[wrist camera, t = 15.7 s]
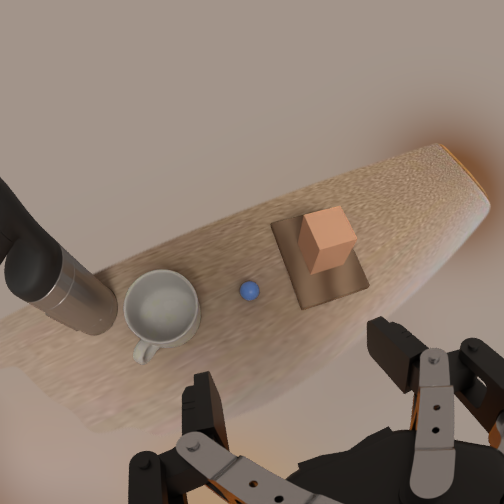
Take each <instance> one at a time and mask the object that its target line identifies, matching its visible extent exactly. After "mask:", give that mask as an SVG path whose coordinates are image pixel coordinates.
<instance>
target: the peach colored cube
mask: <svg viewBox="0 0 504 504" xmlns="http://www.w3.org/2000/svg"><path fill="white" fill-rule="evenodd" d="M356 241H357V237H356V235H355V233H354V231H353V229H352V227H351V225H350V223H349V221H348V219H347V218H346V216H345V214H344V212H343V210H342V208H341V206H337V207H333V208H329V209H325V210H321V211H317V212H313V213H309V214H305V215H304V216H303V221H302V226H301V230H300V235H299V240H298V246H299V248H300V250H301V253H302V255H303V258H304V260H305V262H306V265H307V267H308V270H309V272H310V275H312V274H315V273H318V272H321V271H325V270H328V269H331V268H334V267H337V266H340V265H343V264H344V263H345V261H346V259H347V257H348V255H349V254H350V252H351V250H352V248H353V246H354V244H355V243H356Z"/></svg>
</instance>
